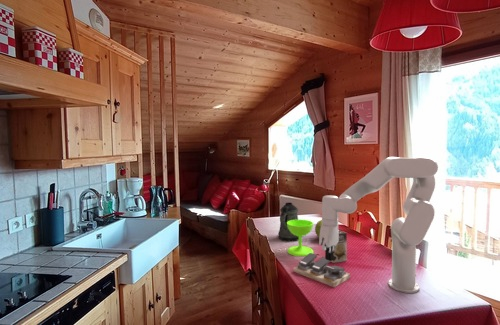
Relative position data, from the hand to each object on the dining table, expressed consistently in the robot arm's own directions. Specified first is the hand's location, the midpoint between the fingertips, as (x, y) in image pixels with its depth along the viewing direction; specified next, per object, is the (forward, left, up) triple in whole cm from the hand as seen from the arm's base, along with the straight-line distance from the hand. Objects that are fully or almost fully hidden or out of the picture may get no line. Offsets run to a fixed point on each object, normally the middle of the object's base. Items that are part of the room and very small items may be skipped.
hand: (329, 259), depth 140 cm
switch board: (-4, -7, -11) cm, 14 cm away
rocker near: (-4, +1, -5) cm, 7 cm away
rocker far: (-4, -15, -5) cm, 17 cm away
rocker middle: (-4, -7, -5) cm, 10 cm away
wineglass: (-22, -35, -11) cm, 43 cm away
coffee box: (-26, -12, -11) cm, 31 cm away
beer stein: (-37, -56, -11) cm, 68 cm away
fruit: (-53, -37, -11) cm, 66 cm away
